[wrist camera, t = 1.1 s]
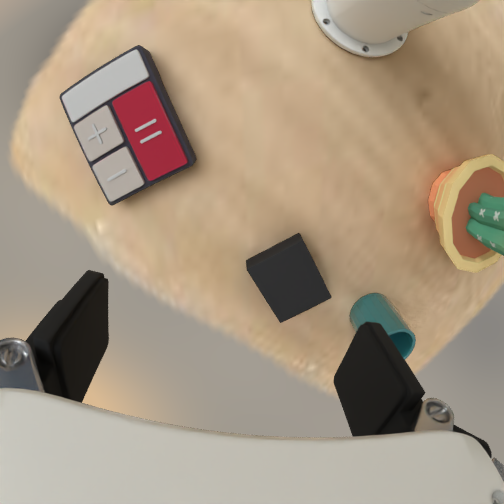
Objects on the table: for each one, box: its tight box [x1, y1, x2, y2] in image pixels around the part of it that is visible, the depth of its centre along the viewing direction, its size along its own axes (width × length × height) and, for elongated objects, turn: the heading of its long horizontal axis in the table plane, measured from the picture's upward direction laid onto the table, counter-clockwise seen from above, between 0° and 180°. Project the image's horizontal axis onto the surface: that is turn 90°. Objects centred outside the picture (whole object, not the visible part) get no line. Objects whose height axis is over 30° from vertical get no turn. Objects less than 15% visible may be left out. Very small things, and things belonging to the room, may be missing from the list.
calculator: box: [60, 45, 196, 205], centre depth 30 cm, size 11×4×15 cm
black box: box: [246, 233, 331, 323], centre depth 39 cm, size 7×9×3 cm
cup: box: [350, 293, 416, 360], centre depth 39 cm, size 6×6×9 cm
